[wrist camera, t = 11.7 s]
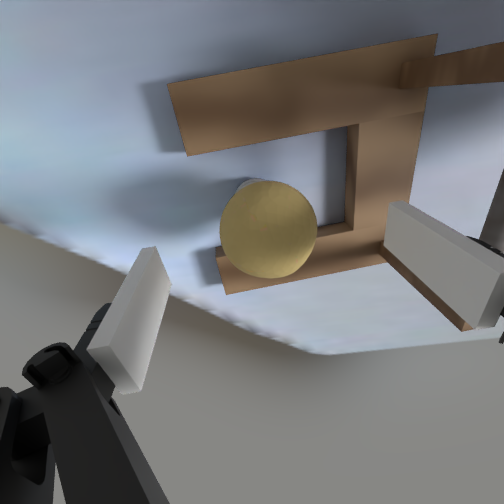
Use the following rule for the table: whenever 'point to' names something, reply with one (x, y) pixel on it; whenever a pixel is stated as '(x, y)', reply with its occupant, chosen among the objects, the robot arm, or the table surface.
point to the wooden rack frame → (358, 138)
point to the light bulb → (268, 229)
